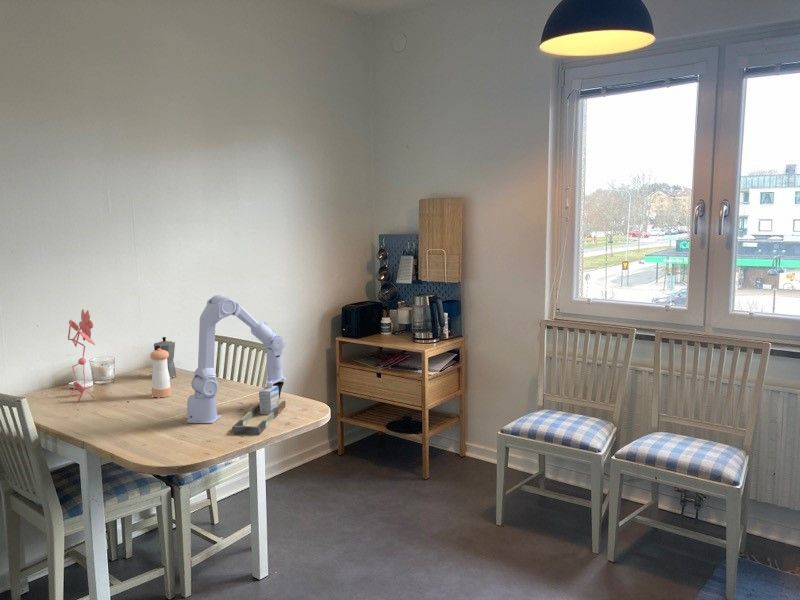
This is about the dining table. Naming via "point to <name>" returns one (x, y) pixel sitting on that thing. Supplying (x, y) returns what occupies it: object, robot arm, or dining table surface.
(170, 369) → the coffeepot
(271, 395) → the medicine box
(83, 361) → the figurine
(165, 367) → the salt shaker
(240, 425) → the trap channel
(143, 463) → the dining table surface
